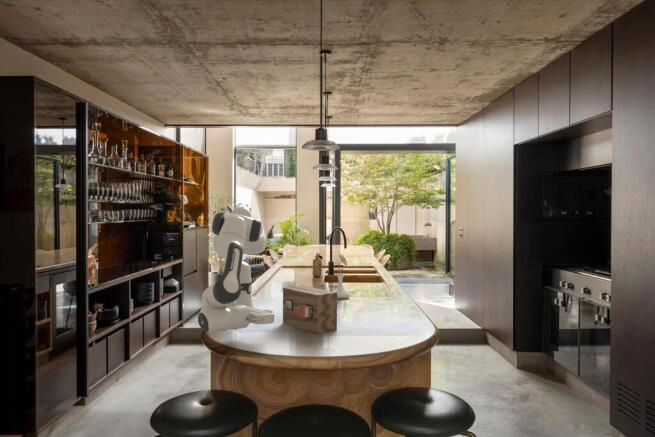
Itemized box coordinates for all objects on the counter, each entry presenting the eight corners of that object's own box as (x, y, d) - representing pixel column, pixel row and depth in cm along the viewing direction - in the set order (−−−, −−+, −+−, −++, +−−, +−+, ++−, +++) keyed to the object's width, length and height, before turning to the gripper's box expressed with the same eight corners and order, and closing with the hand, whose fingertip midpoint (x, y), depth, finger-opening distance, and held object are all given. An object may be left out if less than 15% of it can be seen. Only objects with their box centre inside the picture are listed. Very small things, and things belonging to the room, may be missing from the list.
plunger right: (303, 317, 206) (303, 307, 206) (297, 315, 209) (297, 305, 209) (318, 315, 211) (318, 305, 211) (312, 313, 214) (312, 303, 214)
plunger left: (291, 310, 219) (291, 301, 219) (286, 309, 223) (286, 299, 222) (306, 308, 224) (306, 299, 224) (300, 307, 228) (300, 297, 228)
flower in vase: (350, 300, 283) (351, 255, 282) (330, 299, 283) (330, 255, 282) (349, 295, 296) (350, 253, 295) (330, 295, 296) (330, 253, 296)
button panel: (316, 334, 207) (316, 295, 206) (282, 323, 225) (283, 287, 225) (336, 330, 214) (337, 292, 213) (302, 320, 232) (302, 285, 232)
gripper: (255, 312, 185) (285, 308, 194) (227, 304, 201) (257, 301, 210) (254, 330, 185) (285, 324, 194) (227, 320, 201) (257, 316, 210)
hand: (270, 312), depth 202 cm, fingers closed
